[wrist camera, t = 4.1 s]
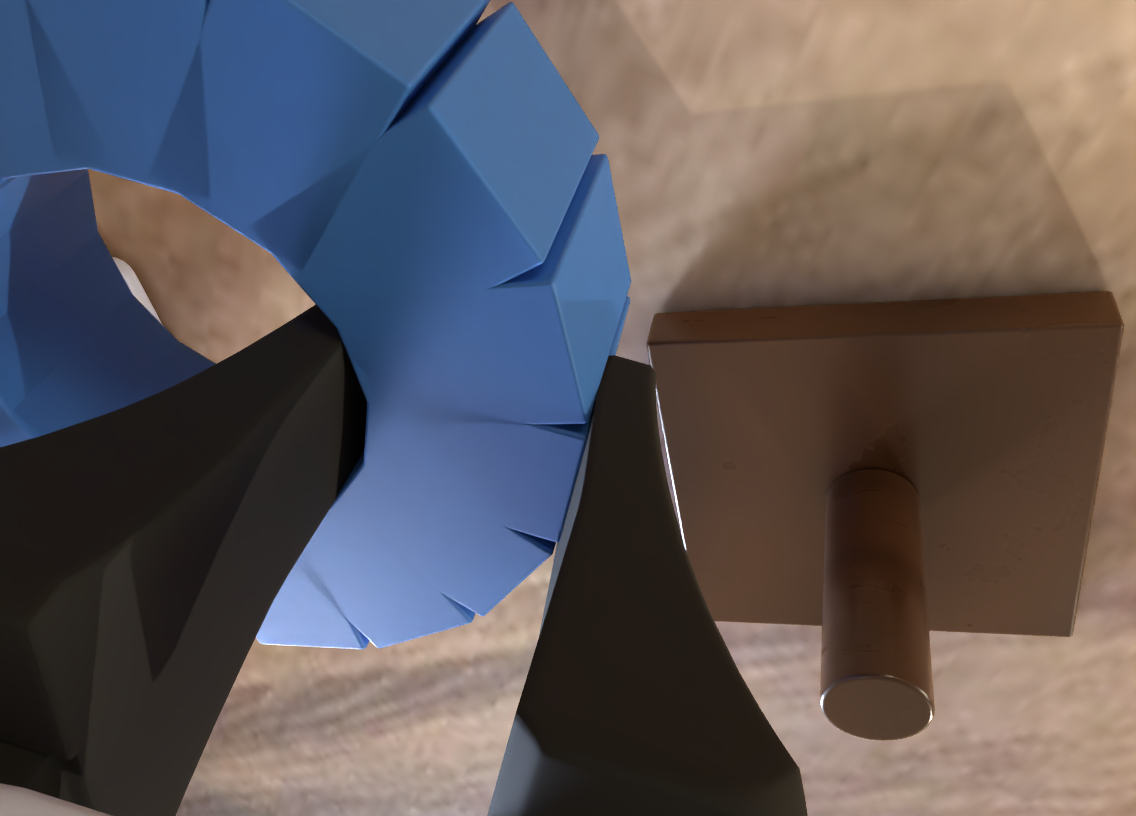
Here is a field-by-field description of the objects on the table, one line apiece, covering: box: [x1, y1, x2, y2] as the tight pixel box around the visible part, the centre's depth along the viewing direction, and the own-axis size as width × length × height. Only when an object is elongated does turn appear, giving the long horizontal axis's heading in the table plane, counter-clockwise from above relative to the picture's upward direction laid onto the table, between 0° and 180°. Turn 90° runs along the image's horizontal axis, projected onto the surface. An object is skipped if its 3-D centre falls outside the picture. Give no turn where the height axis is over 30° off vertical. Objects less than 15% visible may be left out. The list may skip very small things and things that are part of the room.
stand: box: [646, 291, 1124, 740], centre depth 20 cm, size 9×9×7 cm
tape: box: [0, 0, 631, 649], centre depth 14 cm, size 11×11×3 cm
